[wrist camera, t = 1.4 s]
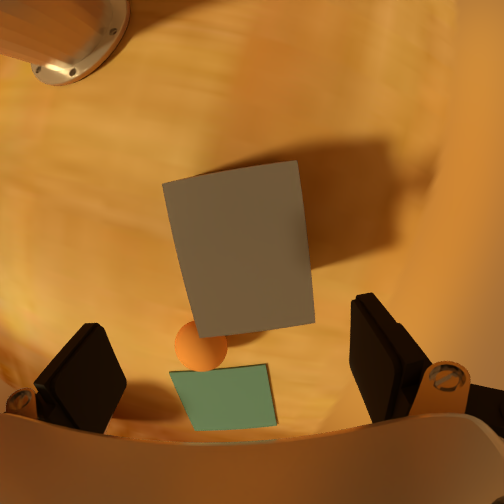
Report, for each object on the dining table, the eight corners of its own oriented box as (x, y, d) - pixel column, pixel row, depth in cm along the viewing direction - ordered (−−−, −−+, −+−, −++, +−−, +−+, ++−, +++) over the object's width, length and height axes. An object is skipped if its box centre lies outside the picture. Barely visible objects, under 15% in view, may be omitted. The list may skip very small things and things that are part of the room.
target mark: (169, 371, 31) (169, 372, 30) (265, 363, 30) (265, 364, 30) (195, 429, 34) (195, 430, 34) (276, 424, 33) (276, 425, 33)
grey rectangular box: (192, 176, 24) (162, 183, 16) (282, 161, 24) (297, 160, 15) (215, 285, 27) (199, 338, 19) (297, 273, 27) (315, 322, 18)
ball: (175, 313, 28) (162, 340, 23) (223, 307, 28) (218, 336, 23) (188, 353, 30) (178, 383, 25) (233, 349, 29) (230, 380, 25)
